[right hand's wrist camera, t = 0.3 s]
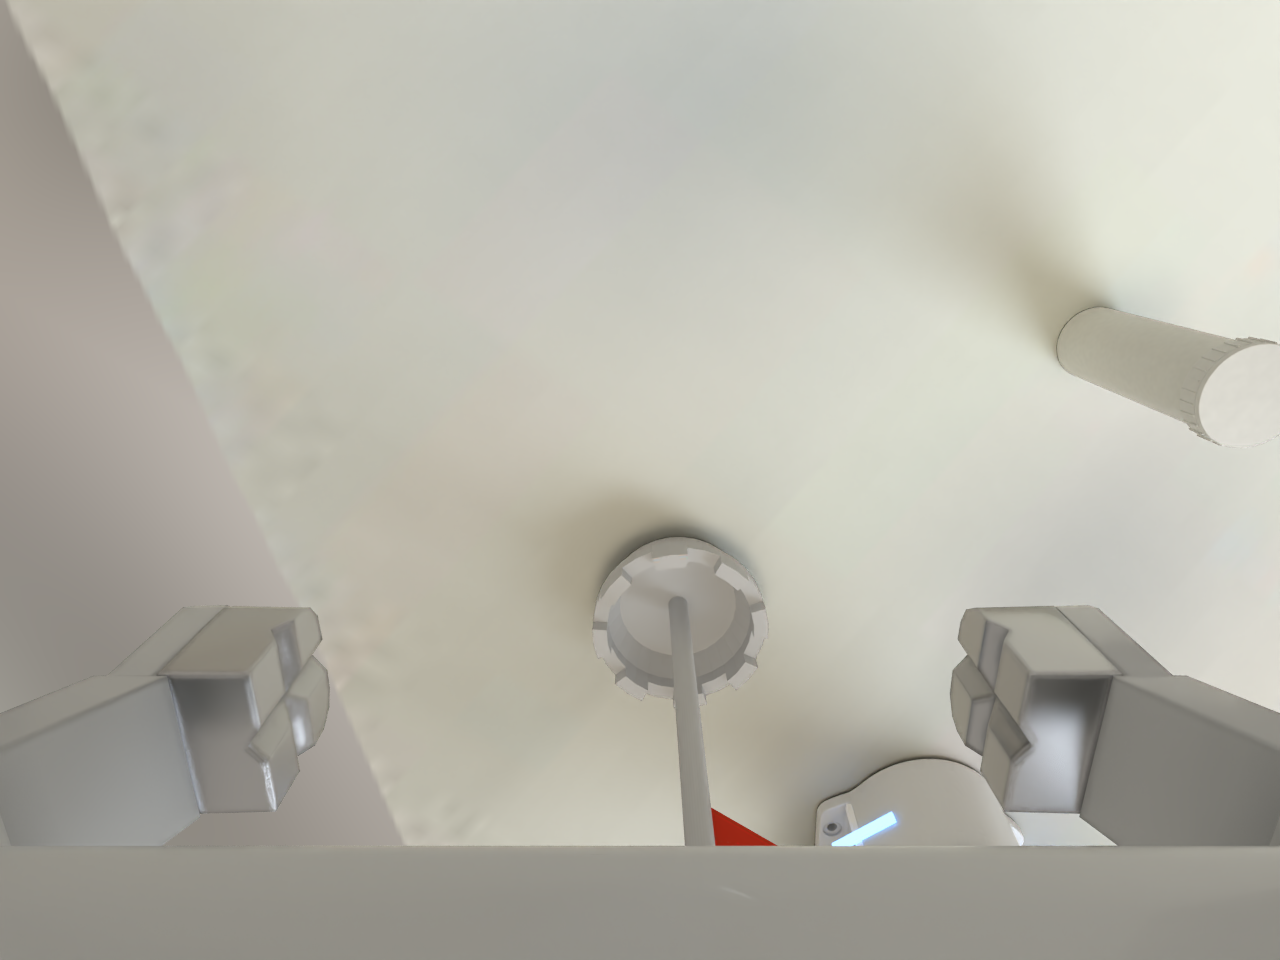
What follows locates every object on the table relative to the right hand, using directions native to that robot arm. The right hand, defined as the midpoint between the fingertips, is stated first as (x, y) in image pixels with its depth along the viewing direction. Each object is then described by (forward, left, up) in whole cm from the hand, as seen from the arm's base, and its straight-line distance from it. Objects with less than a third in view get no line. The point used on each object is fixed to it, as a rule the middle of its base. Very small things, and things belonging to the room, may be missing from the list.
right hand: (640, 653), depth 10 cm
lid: (+5, +32, -32) cm, 46 cm away
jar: (+5, +32, -48) cm, 58 cm away
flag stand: (+25, +3, -48) cm, 54 cm away
